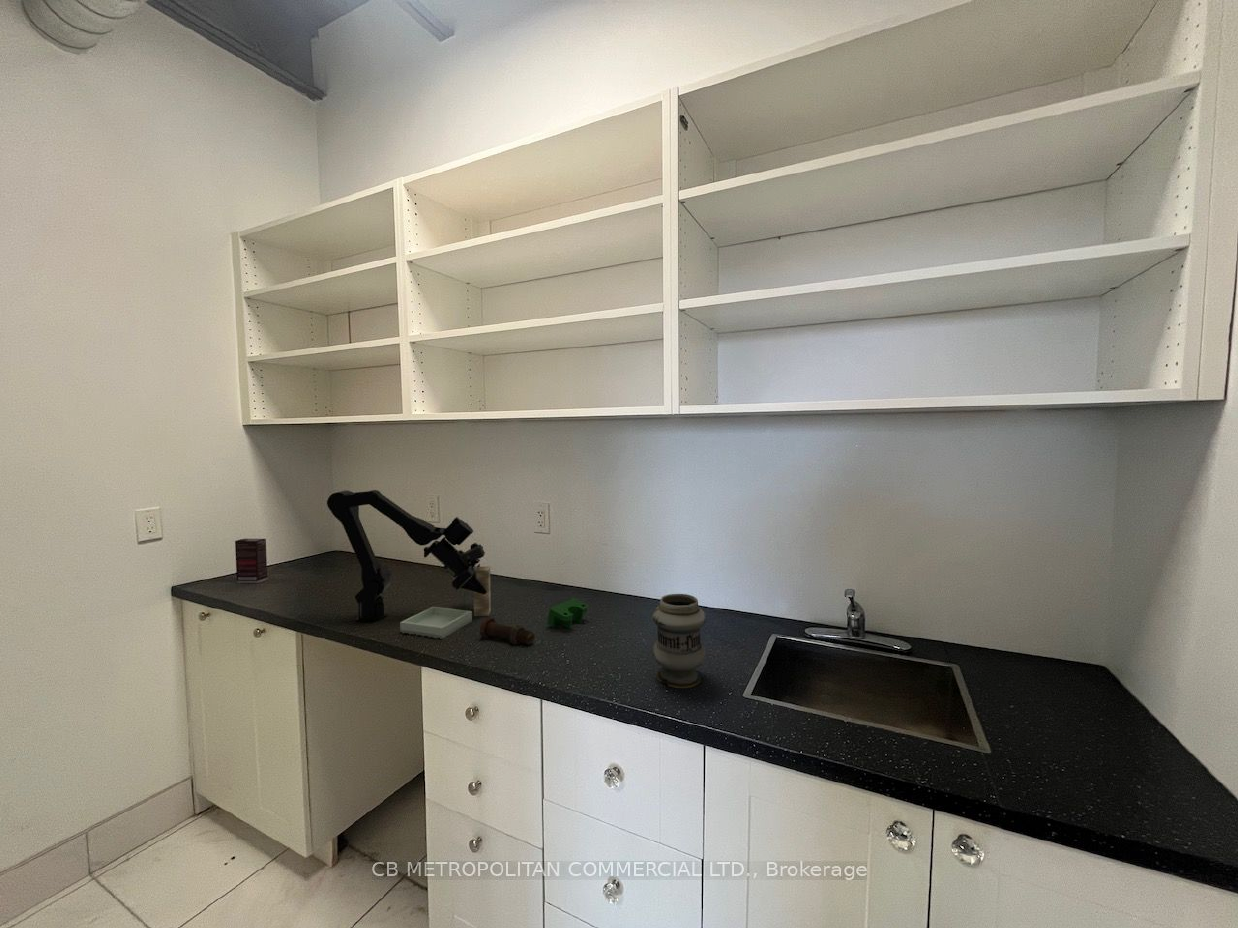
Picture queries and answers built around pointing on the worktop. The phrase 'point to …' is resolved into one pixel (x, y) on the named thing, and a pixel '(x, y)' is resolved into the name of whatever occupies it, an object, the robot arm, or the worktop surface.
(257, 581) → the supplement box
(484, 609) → the maple block
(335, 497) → the robot arm
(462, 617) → the tray
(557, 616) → the clamp
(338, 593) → the worktop surface
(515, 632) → the bolt
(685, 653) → the apothecary jar
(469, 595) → the worktop surface
